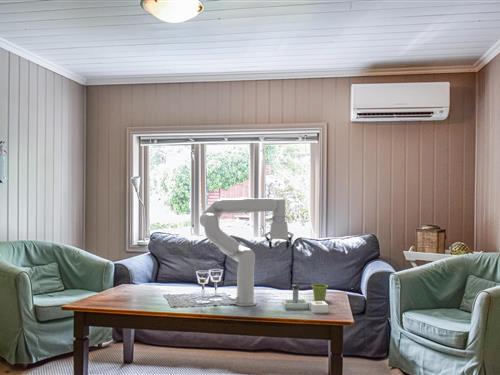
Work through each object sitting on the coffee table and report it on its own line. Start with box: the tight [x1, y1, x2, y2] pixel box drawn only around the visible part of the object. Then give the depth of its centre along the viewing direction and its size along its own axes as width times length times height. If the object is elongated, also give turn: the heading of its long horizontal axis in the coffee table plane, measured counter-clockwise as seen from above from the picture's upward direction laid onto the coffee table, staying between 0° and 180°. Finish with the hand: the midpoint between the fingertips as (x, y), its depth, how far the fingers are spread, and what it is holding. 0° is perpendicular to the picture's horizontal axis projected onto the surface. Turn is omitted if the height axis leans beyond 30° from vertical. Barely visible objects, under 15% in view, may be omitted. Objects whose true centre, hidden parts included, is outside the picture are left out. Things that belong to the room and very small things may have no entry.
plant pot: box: [311, 283, 328, 302], centre depth 238 cm, size 9×9×9 cm
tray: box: [281, 298, 310, 311], centre depth 223 cm, size 13×10×3 cm
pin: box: [291, 283, 301, 303], centre depth 223 cm, size 4×4×11 cm
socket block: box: [309, 300, 329, 314], centre depth 215 cm, size 8×8×4 cm
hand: (278, 248), depth 238 cm, fingers open, 9 cm apart
